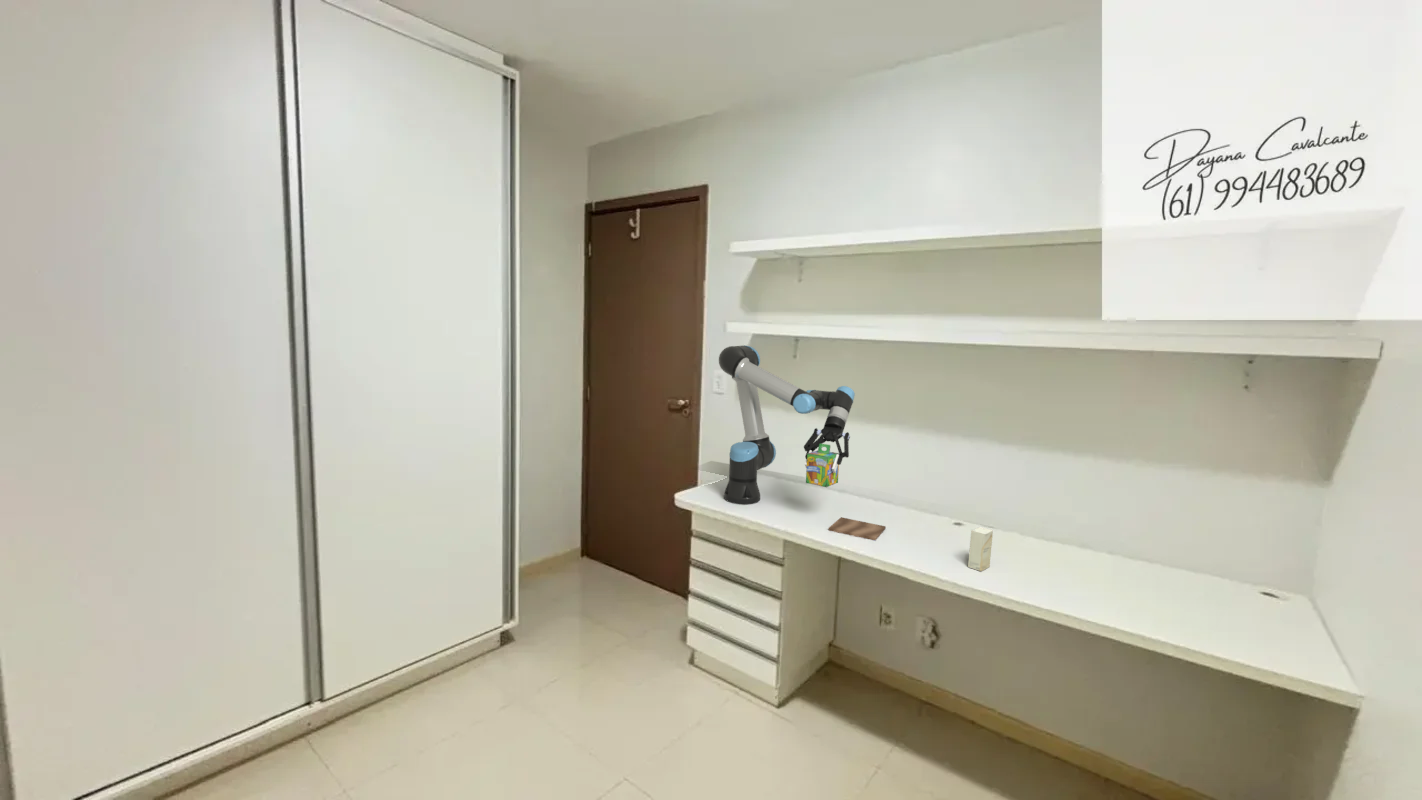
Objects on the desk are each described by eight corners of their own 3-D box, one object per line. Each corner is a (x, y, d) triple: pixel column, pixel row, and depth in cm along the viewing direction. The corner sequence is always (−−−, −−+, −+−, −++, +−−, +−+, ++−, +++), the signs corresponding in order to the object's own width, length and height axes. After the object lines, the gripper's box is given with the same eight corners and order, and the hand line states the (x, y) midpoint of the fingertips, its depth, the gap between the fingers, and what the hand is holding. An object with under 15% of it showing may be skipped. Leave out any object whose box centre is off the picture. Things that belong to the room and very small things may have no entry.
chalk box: (805, 483, 220) (806, 444, 218) (817, 478, 227) (818, 441, 225) (827, 487, 214) (828, 448, 212) (839, 482, 221) (840, 444, 219)
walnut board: (828, 530, 213) (828, 527, 213) (840, 519, 225) (840, 517, 225) (875, 540, 204) (875, 537, 204) (885, 528, 216) (885, 526, 216)
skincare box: (981, 572, 181) (984, 534, 180) (966, 567, 185) (970, 530, 183) (990, 566, 185) (993, 530, 184) (976, 562, 189) (979, 526, 187)
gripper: (866, 430, 225) (851, 479, 214) (811, 423, 236) (794, 469, 225) (863, 418, 220) (847, 467, 209) (806, 412, 231) (789, 458, 220)
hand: (819, 468), depth 217 cm, fingers closed on chalk box, 10 cm apart
